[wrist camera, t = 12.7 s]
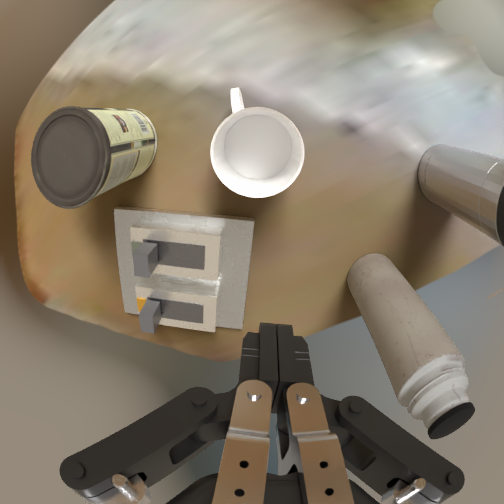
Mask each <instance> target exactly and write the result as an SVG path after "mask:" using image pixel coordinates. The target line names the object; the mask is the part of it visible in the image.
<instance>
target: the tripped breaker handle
mask: <svg viewBox="0 0 504 504" xmlns="http://www.w3.org/2000/svg"><path fill="white" fill-rule="evenodd" d="M139 320H140V327H141V331H142V332H148V333H153V334H154V333H155V331H156V329H157V327H158V325H159V322H160V320H161V308H160V302H158V301H151V300H147V301H146V302H145V304H144V306H143V308H142V309H141V311H140V313H139Z"/></svg>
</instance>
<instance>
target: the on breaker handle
mask: <svg viewBox="0 0 504 504" xmlns="http://www.w3.org/2000/svg"><path fill="white" fill-rule="evenodd" d="M132 255H133V266H134V276H139V277H146V278H149V277H150V276H151V274H152V273H153V271H154V270H155V268H156V267H157V265H158V250H157V243H147V242H143V243H142V244H141V245H140V246H139V247H138V248H137V249H136V250H135V251H134V253H133V254H132Z"/></svg>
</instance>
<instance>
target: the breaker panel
mask: <svg viewBox="0 0 504 504" xmlns="http://www.w3.org/2000/svg"><path fill="white" fill-rule="evenodd" d="M114 221H115V235H116V247H117V257H118V266H119V274H120V282H121V289H122V296H123V302H124V308H125V312H127V313H132V314H137V315H139V313H140V311H141V309H142V308H143V306H144V304H145V302H146V301H147V300H151V301H158V302H160V308H161V320H160V322H159V324H160V325H166V326H173V327H179V328H186V329H193V330H200V331H208V332H215V330H216V326H217V327H226V328H235V329H242V326H243V317H244V308H245V300H246V291H247V282H248V274H249V265H250V256H251V248H252V239H253V230H254V221H255V218H249V217H240V216H230V215H220V214H210V213H199V212H188V211H177V210H165V209H152V208H139V207H125V206H118V207H116V208H115V209H114ZM143 242H147V243H157V250H158V265H157V267H156V268H155V270H154V271H153V273H152V274H151V276H150V277H149V278H146V277H139V276H134V266H133V255H132V254H133V253H134V251H135V250H136V249H137V248H138V247H139V246H140V245H141V244H142V243H143Z"/></svg>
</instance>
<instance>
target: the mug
mask: <svg viewBox="0 0 504 504" xmlns="http://www.w3.org/2000/svg"><path fill="white" fill-rule="evenodd" d="M231 104H232V111H233V114H231V115H230V116H229V117H227V118H226V119H225V120H224V121H223V122H222V123H221V124H220V125H219V127H218V129H217V130H216V132H215V134H214V136H213V139H212V142H211V150H210V153H211V162H212V165H213V169H214V171H215V173H216V174H217V176H218V178H219V179H220V180H221V181H222V183H223V184H224V185H225V186H227V187H228V188H229V189H230V190H232V191H234V192H236V193H237V194H240V195H243V196H246V197H252V198H264V197H269V196H273V195H275V194H277V193H280V192H282V191H283V190H285V189H286V188H287V187H289V186H290V185H291V184H292V183H293V182H294V181H295V179H296V178H297V176H298V175H299V173H300V171H301V168H302V165H303V161H304V144H303V140H302V137H301V135H300V133H299V130H298V129H297V128H296V126H295V125H294V123H293V122H292V121H291V120H289V119H288V118H287V117H286V116H285V115H283V114H281V113H280V112H278V111H275V110H272V109H269V108H263V107H250V108H246V109H244V105H243V100H242V95H241V91H240V88H233V89H231Z"/></svg>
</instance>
